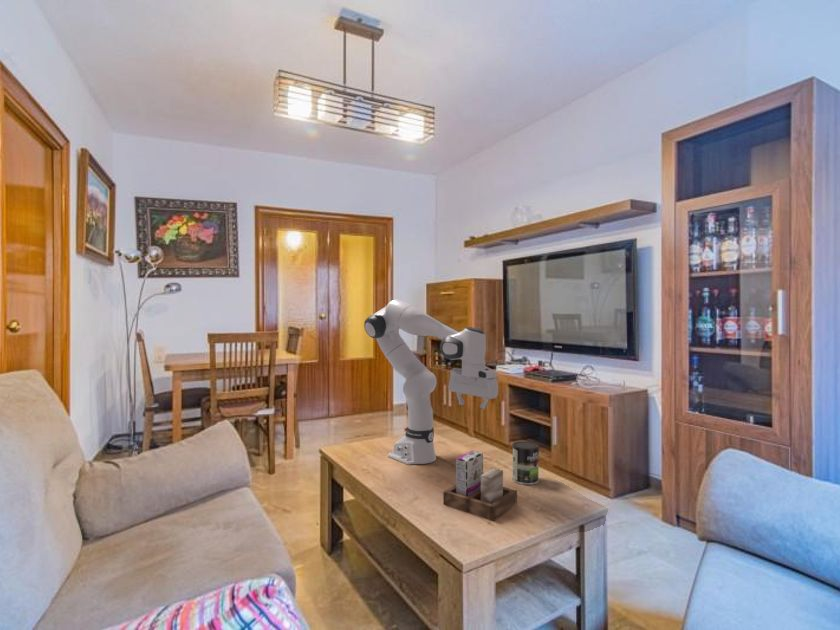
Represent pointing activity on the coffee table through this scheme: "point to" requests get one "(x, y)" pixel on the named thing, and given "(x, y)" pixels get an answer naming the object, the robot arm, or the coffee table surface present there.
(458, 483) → the candy bar box
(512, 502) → the tray
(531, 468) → the coffee can
